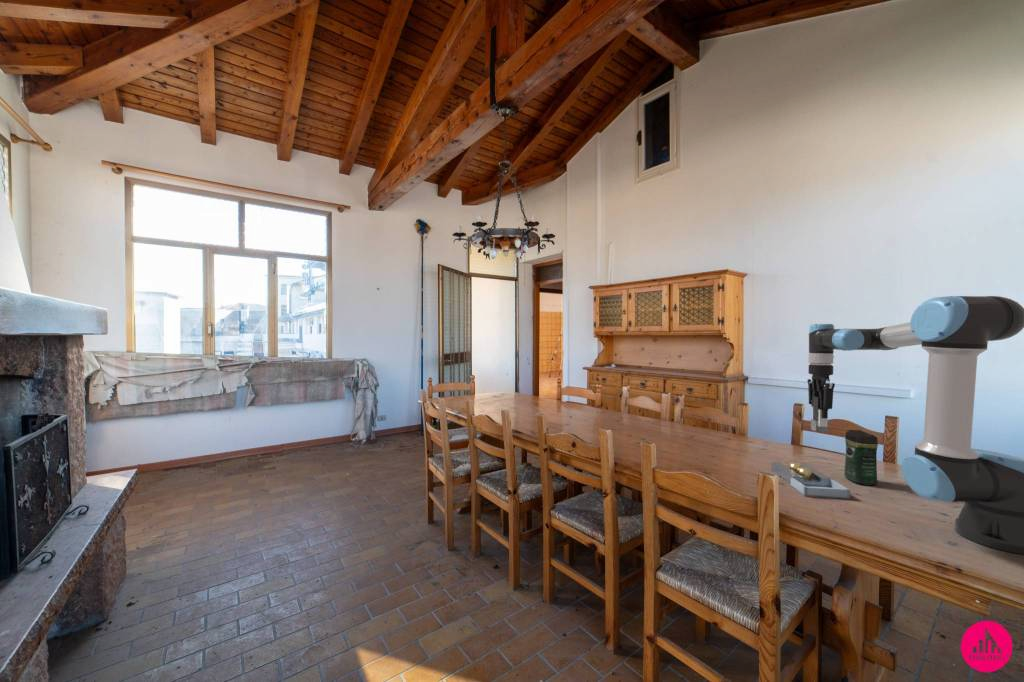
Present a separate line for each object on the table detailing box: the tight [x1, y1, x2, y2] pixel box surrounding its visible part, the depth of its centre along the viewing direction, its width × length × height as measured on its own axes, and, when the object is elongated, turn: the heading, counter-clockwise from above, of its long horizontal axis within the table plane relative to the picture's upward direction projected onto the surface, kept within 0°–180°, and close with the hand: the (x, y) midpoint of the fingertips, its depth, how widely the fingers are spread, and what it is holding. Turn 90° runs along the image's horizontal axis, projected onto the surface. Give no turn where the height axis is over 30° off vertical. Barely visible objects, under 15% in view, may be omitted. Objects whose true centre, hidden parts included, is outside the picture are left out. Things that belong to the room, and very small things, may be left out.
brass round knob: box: [789, 461, 803, 474], centre depth 153 cm, size 4×4×3 cm
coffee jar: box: [844, 429, 879, 486], centre depth 149 cm, size 10×8×19 cm
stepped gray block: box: [810, 396, 830, 433], centre depth 154 cm, size 3×4×13 cm
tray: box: [790, 478, 851, 500], centre depth 139 cm, size 9×14×3 cm, turn 81°
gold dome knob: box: [799, 467, 812, 479], centre depth 148 cm, size 4×4×3 cm
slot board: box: [771, 461, 832, 487], centre depth 151 cm, size 16×12×4 cm
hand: (819, 425), depth 154 cm, fingers closed on stepped gray block, 3 cm apart
